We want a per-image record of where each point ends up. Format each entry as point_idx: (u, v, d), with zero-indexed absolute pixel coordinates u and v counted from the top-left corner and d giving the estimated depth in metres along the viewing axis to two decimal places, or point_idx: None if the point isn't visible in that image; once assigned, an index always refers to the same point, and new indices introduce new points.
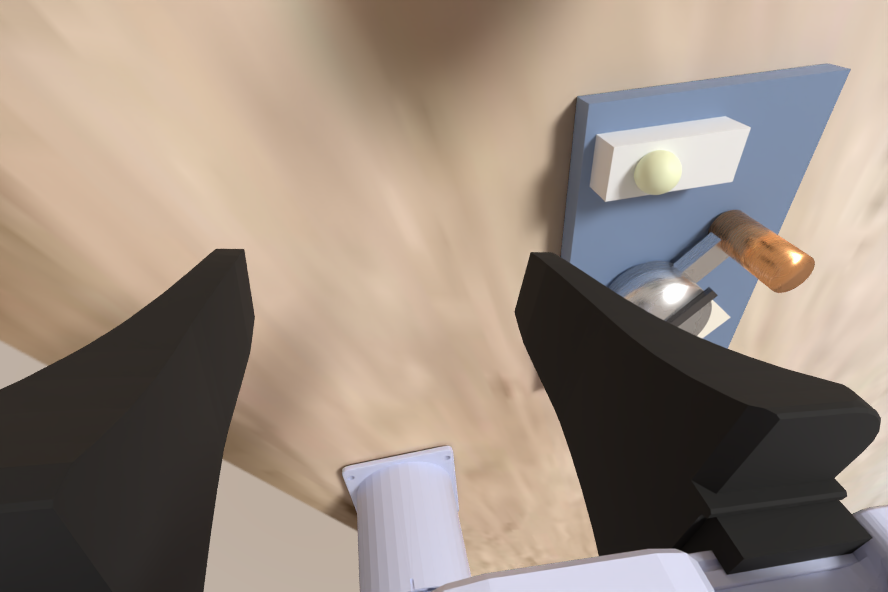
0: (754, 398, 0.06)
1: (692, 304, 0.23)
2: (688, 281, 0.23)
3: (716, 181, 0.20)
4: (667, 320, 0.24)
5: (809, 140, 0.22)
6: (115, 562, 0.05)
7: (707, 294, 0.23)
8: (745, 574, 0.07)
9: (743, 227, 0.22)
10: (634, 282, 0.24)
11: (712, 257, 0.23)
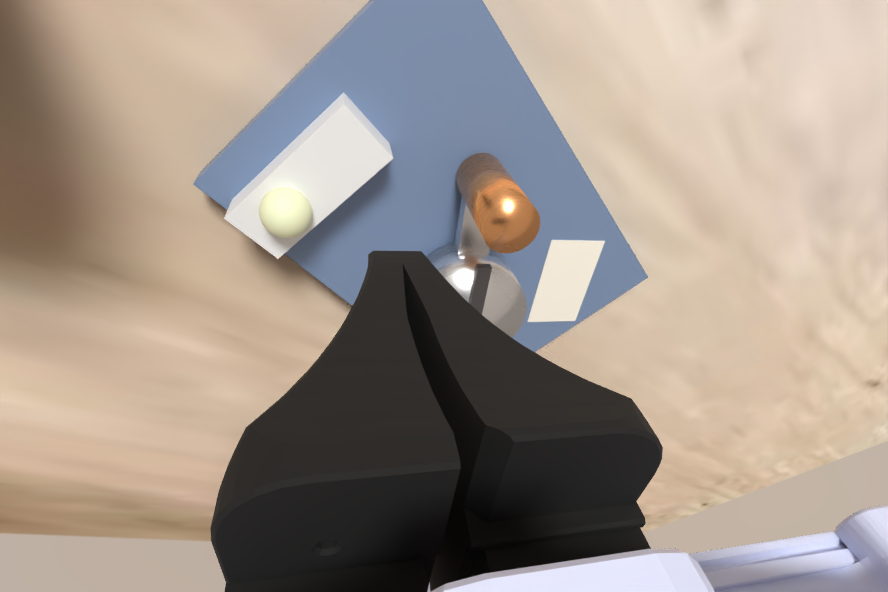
0: (503, 416, 0.05)
1: (472, 290, 0.19)
2: (456, 266, 0.19)
3: (373, 170, 0.16)
4: None
5: (484, 34, 0.16)
6: None
7: (476, 274, 0.18)
8: None
9: (466, 183, 0.17)
10: None
11: None
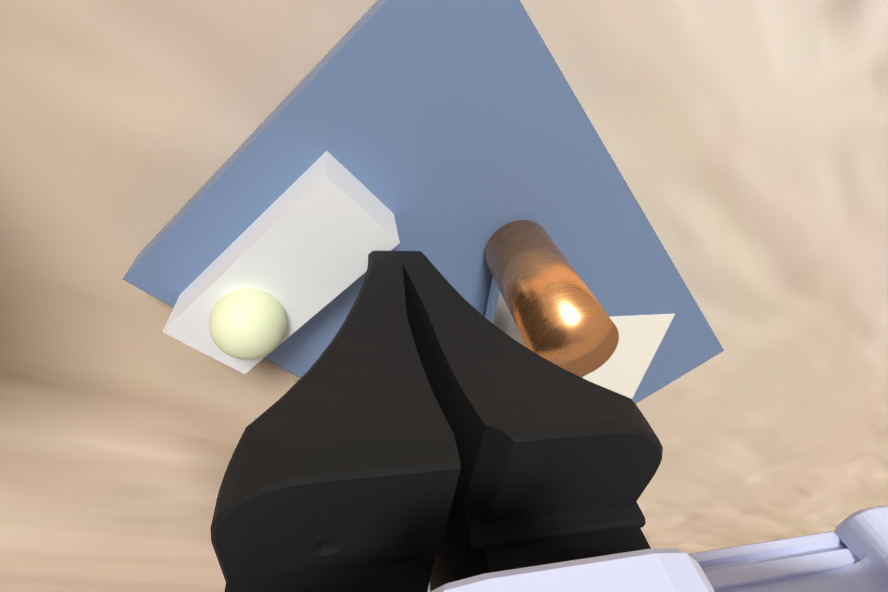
0: (503, 416, 0.05)
1: None
2: None
3: None
4: None
5: (528, 61, 0.11)
6: None
7: None
8: None
9: (502, 268, 0.12)
10: None
11: None
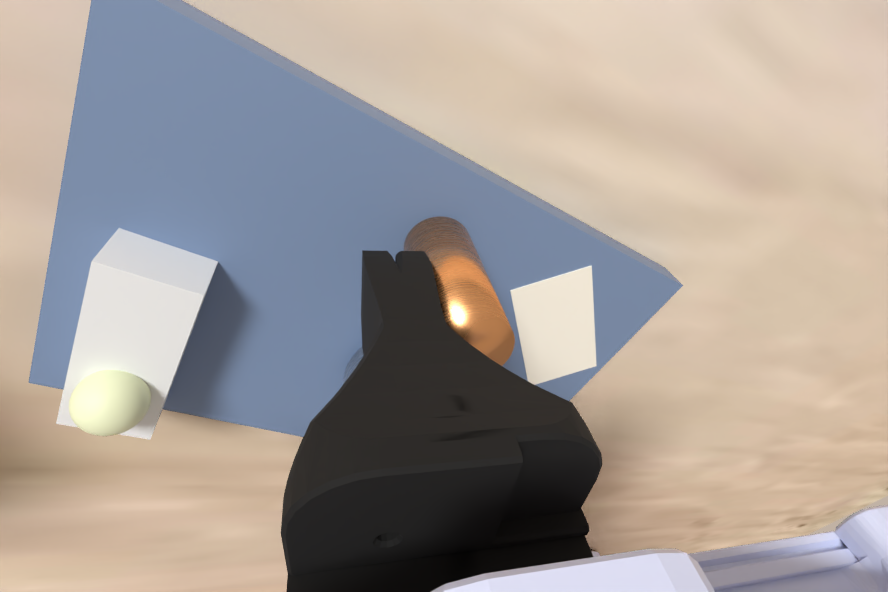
0: (432, 422, 0.05)
1: None
2: None
3: (189, 316, 0.12)
4: None
5: (252, 79, 0.10)
6: None
7: None
8: None
9: None
10: None
11: None
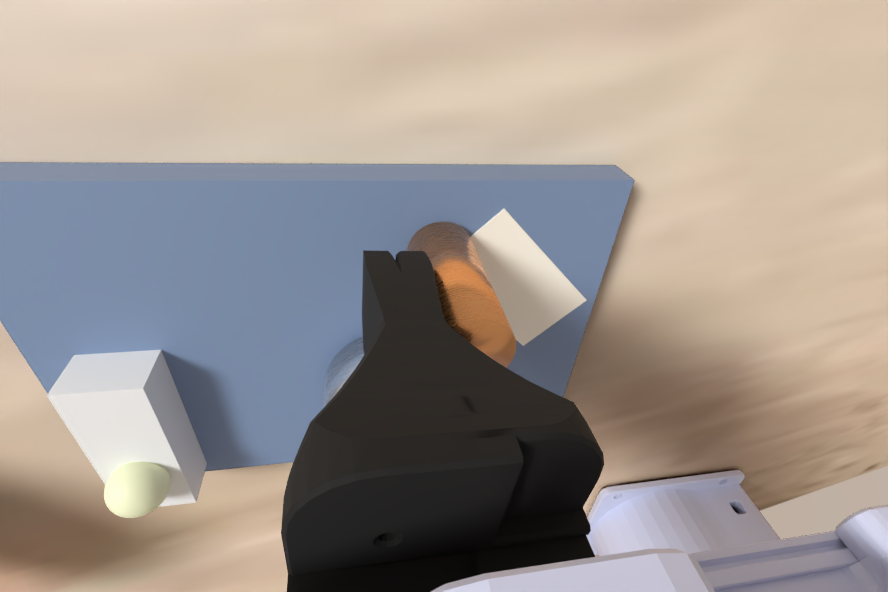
0: (434, 421, 0.05)
1: None
2: None
3: (146, 407, 0.13)
4: None
5: (71, 200, 0.11)
6: None
7: None
8: None
9: None
10: (328, 385, 0.15)
11: None
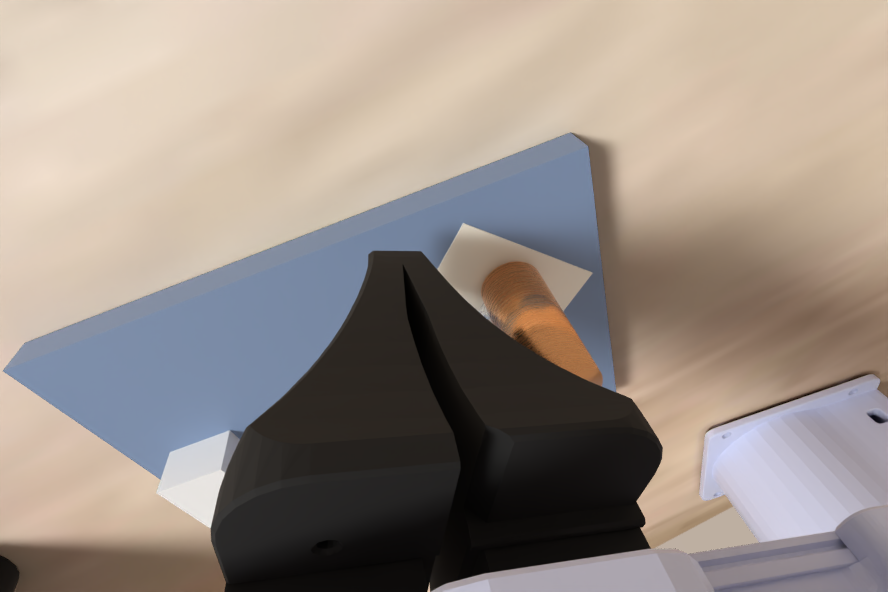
0: (504, 416, 0.05)
1: None
2: None
3: None
4: None
5: (110, 346, 0.14)
6: None
7: None
8: None
9: (504, 300, 0.13)
10: None
11: None
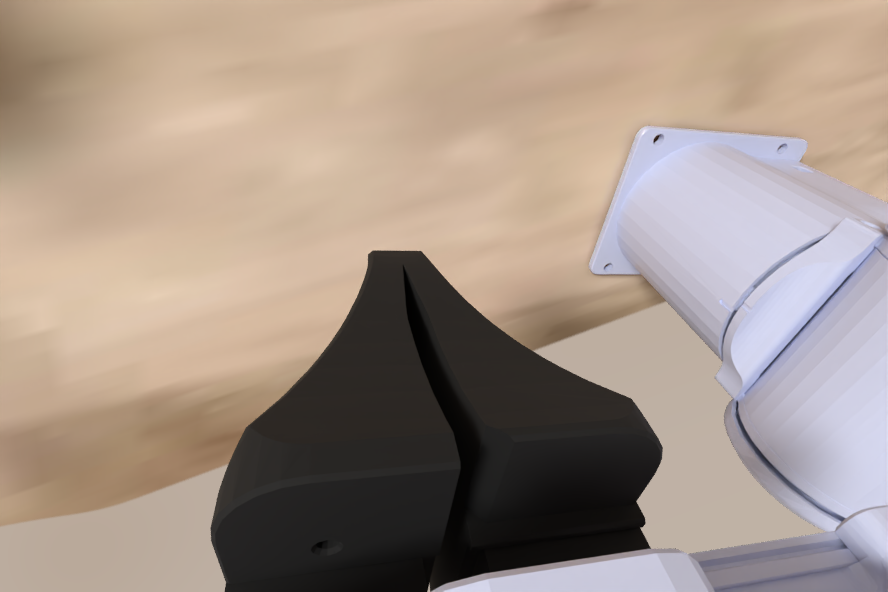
0: (503, 417, 0.05)
1: None
2: None
3: None
4: None
5: None
6: None
7: None
8: None
9: None
10: None
11: None
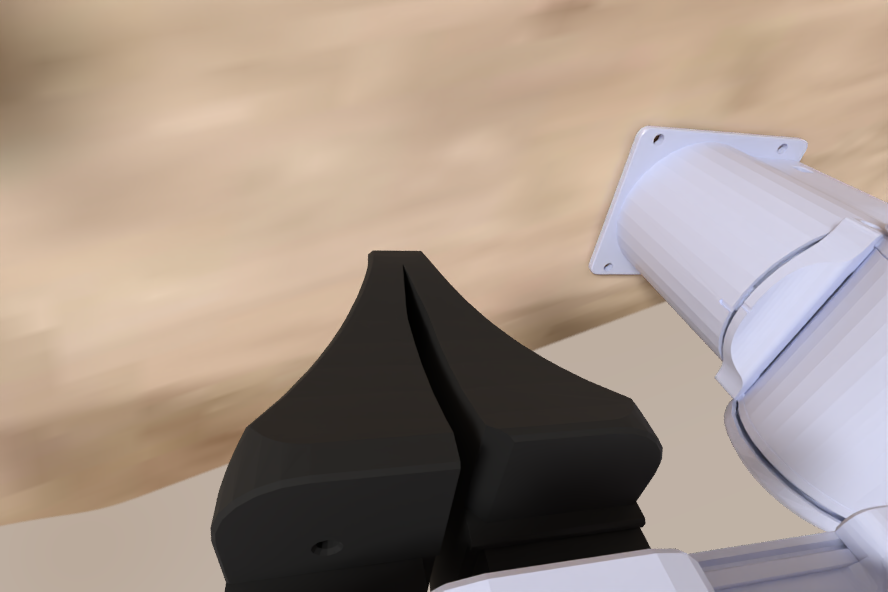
0: (504, 417, 0.05)
1: None
2: None
3: None
4: None
5: None
6: None
7: None
8: None
9: None
10: None
11: None
